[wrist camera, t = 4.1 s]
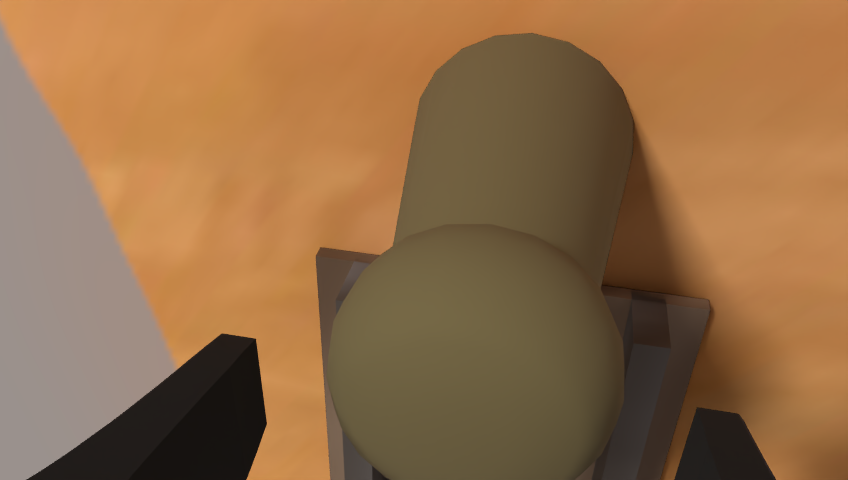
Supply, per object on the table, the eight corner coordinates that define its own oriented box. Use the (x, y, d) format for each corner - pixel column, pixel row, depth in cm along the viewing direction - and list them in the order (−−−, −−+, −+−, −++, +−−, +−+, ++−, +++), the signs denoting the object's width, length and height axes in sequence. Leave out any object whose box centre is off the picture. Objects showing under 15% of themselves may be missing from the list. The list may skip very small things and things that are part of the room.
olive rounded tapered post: (573, 262, 23) (553, 602, 14) (387, 185, 23) (244, 480, 14) (677, 88, 19) (740, 391, 10) (458, -5, 19) (329, 224, 10)
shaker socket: (708, 299, 23) (718, 355, 21) (641, 529, 29) (643, 590, 27) (320, 247, 24) (294, 294, 22) (334, 474, 31) (315, 527, 29)
